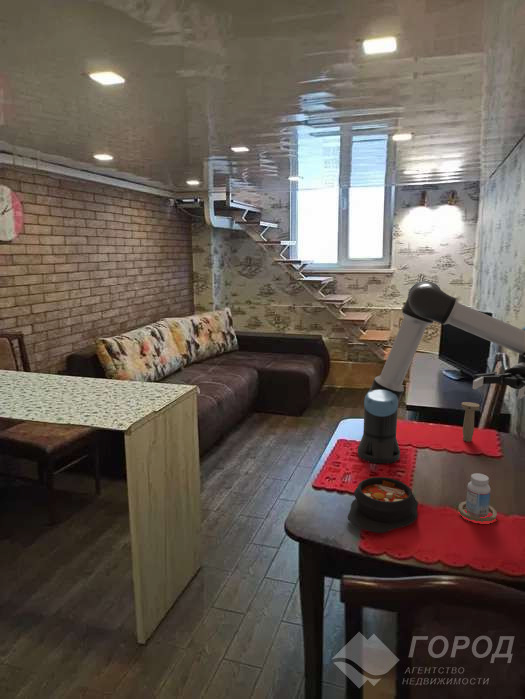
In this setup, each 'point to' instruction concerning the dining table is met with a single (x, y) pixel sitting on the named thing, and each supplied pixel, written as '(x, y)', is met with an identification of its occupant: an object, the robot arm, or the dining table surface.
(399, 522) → the casserole
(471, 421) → the handle
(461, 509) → the ring
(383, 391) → the robot arm
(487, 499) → the pill bottle
